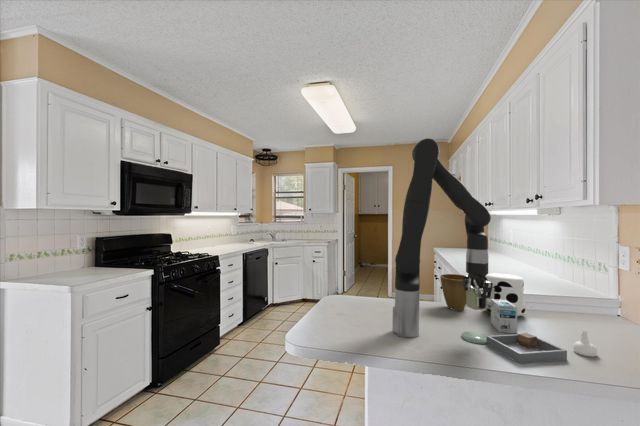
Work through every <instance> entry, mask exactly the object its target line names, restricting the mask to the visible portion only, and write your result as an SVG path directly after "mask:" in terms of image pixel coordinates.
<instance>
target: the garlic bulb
mask: <svg viewBox="0 0 640 426" xmlns="http://www.w3.org/2000/svg"><path fill="white" fill-rule="evenodd" d="M572 347H573V348H572V349H573V351H574V352H575V353H576V354H578V355H581V356H584V357H590V358H594V357H597V356H598V353H599V352H598V348H597V347H596V346H595V345H594V344H592V343H591V342H590V341H589V337H588V330H582V333H581V337H580V340H578V341H575V342H574V343H573V345H572Z"/></svg>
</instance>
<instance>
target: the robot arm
mask: <svg viewBox="0 0 640 426" xmlns="http://www.w3.org/2000/svg"><path fill="white" fill-rule="evenodd" d="M439 156H440V147H439V144H438V143H437V142H436V141H435V140H434V139H432V138H424V139H421V140H420V141H419V142H417V143H416V145H414V147H413V149H412V152H411V157H412V160H413V162H414V164H413V171H412V177H411V180H410V182H409V186H408V188H407V192H406V196H405V199H404V205H403V211H402V229H401V238H400V242H399V246H398V249H397V253H396V255H395V259H394V261H395V279H394V306H393V307H392V332H393V333H395V335H397V336H398V337H403V338H416V337H418V336H419V334H420V291H421V289H420V285H421V283H420V281H421V279H420V268H421V265H420V264H421V248H422V238H423V234H424V231H425V227H426V224H427V220H428V215H429V212H430V203H431V197H432V187H433V180H434V182H436V184H437V185H438V186H439V187H440V189H441V190H442V191H443V192H444V193H445V195H446V196H447V197H448V198H449V200H450V201H451V202H452V203H453V205H454V206H455V207H456V208H457V209H459V210H461V211H462V212H463V213H464V226H465V232H466V253H465V273H466V274H468V275H465V276H463V283H464V290H465V291H466V290H476V291H477V292H478V295H479V308H480V309H484V308H485V306H486V298H490V297H491V291H492V286H493V283H492V282H488V281H487V279H486V275H487V274H489V252H488V251H489V249H488V248H489V247H488V246H489V245H488V243H489V239H488V238H489V237H488V235H487V234H486V232H485V227H486V226H488V225H489V224H490V222H491V217H492V216H491V214H490V212H489V210H488V209H487V208H486V207H485V206H484V205H483V204H482V203H481V202H480V201H479V200H478V199H477V198H475V197H474V196H473V195H472V193H471V192H470V191H469V190H468V188H467V187H466V186H465V184H464V183H462V181H460V180H459V179H458V177H456V176H455V175H454V174H453V173H451V172H450V171H449V170H448V169H447V168H446V167H445V166H444V164H443V163H442V161H441V160H440V158H439ZM467 285H468V288H467ZM481 292H483V294H481ZM487 292H488V293H487ZM486 293H487V294H486Z"/></svg>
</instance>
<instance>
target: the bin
mask: <svg viewBox="0 0 640 426" xmlns="http://www.w3.org/2000/svg"><path fill="white" fill-rule="evenodd" d="M518 334H519V333H512V334H498V335H496V334H494V335H487V344H486V345H487V346H489V347H490V348H492V349H494V350H495V351H498V352H499V353H501V354H502V355H504V356H506V357H508V358H509V359H511V360H513V361H514V362H516V363H518V364H529V363H530V364H532V363H543V362H544V363H545V362H557V361H558V362H559V361H568V350H567V349H564V348H562V347H560V346H557V345H556V344H553V343H551V342H548V341H546V340H544V339H541V338H539V337H537V348H538V349H541V351H526V352H519V351H518V350H515V349H514V348H512V347H510V346H508V345H512V344H513V345H514V344H515V345H518Z"/></svg>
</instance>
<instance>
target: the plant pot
mask: <svg viewBox="0 0 640 426" xmlns="http://www.w3.org/2000/svg"><path fill="white" fill-rule="evenodd" d="M463 276H466V275H464V274H455V273H445V274H444V273H443V274H440V276H439V277H440V283H441V284H440V285H441V289H442V294H443V297H444V300H445V304H446V306H447V308H448V307H449V308H452V309H455V310H454V311H458V310H461V311H464V310H465V308H466V307H467V306H466V291H465V290H464V283H463ZM467 288H468V285H467ZM449 308H448V309H449ZM452 309H451V310H452Z"/></svg>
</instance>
